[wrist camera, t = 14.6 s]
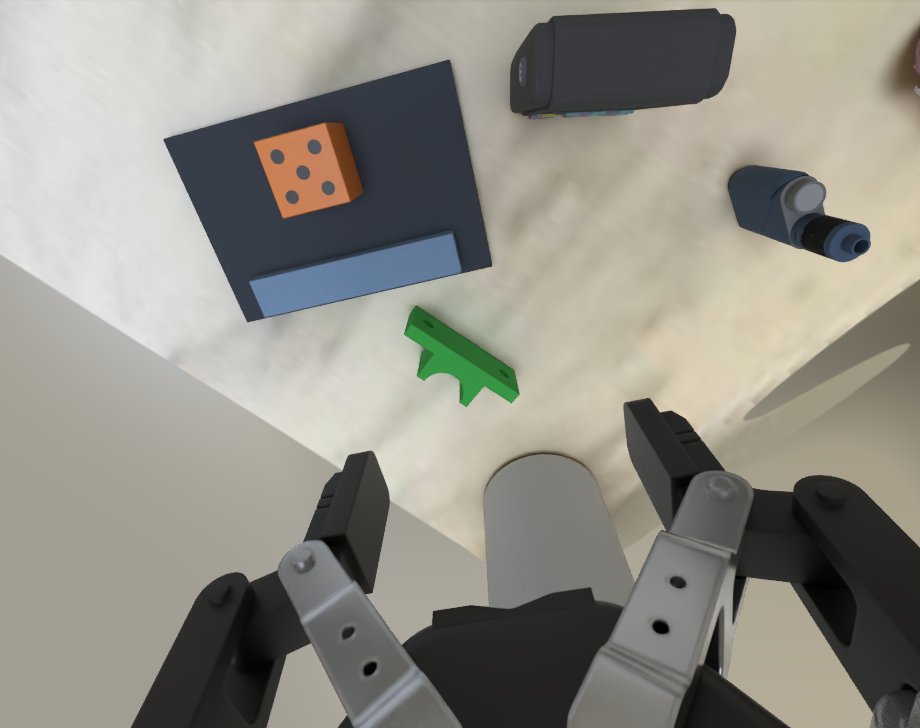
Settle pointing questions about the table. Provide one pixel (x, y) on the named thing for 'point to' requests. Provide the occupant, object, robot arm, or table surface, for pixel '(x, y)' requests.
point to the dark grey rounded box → (621, 62)
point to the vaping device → (794, 212)
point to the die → (310, 168)
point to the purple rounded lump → (917, 65)
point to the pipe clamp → (458, 359)
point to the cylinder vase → (550, 534)
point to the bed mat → (350, 224)
